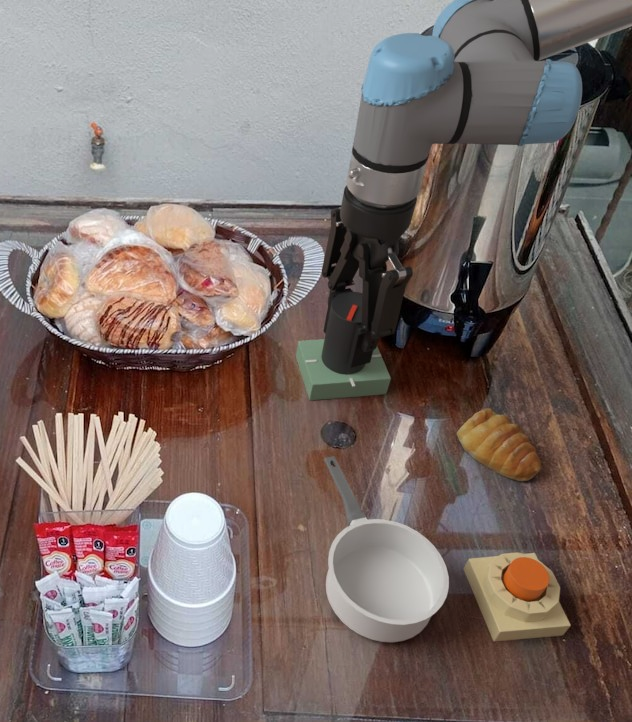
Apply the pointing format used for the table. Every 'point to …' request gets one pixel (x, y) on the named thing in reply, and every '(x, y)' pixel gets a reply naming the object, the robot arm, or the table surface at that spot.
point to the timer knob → (342, 332)
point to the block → (514, 601)
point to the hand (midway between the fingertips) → (346, 346)
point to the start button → (526, 578)
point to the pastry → (499, 445)
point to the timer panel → (339, 375)
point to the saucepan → (382, 573)
